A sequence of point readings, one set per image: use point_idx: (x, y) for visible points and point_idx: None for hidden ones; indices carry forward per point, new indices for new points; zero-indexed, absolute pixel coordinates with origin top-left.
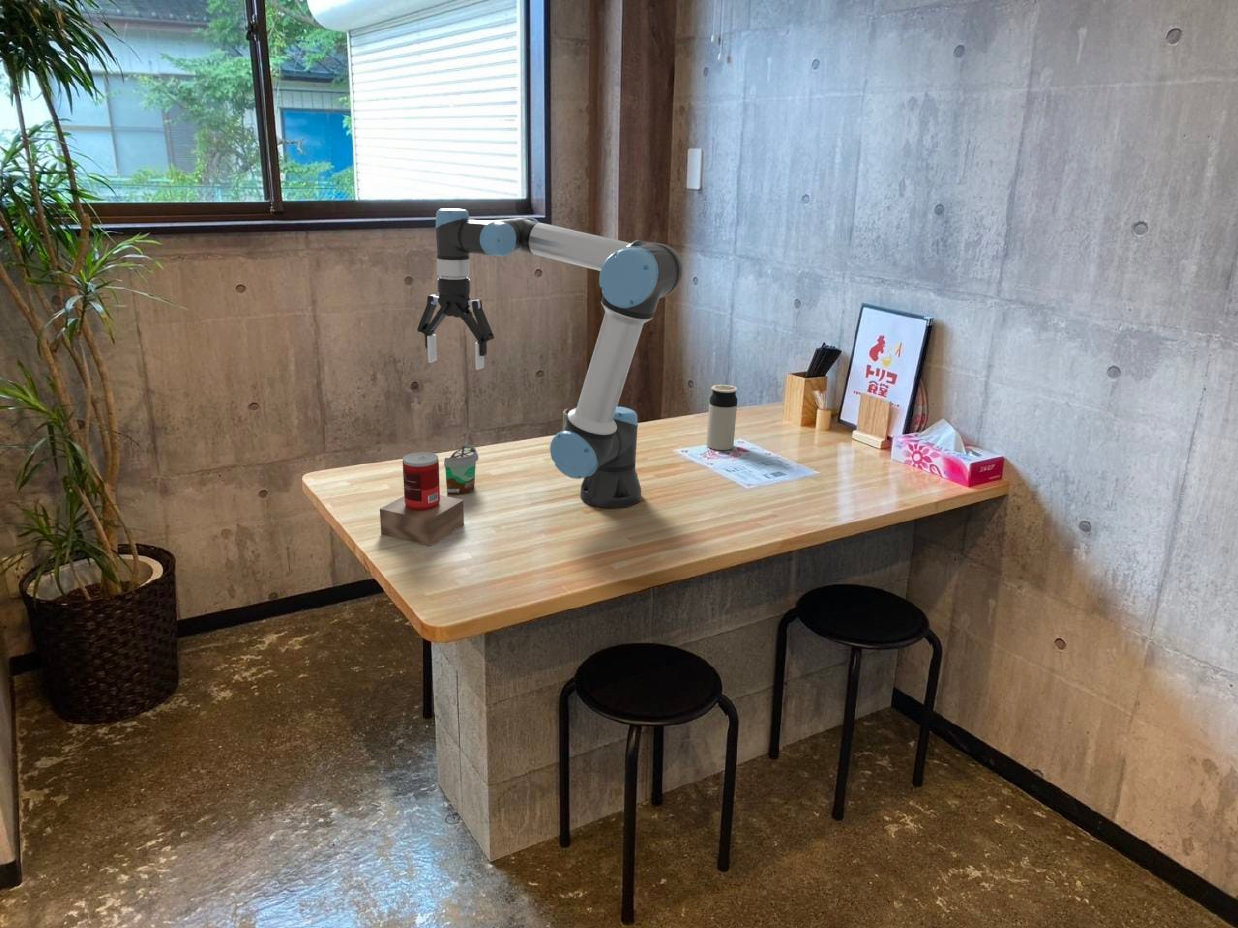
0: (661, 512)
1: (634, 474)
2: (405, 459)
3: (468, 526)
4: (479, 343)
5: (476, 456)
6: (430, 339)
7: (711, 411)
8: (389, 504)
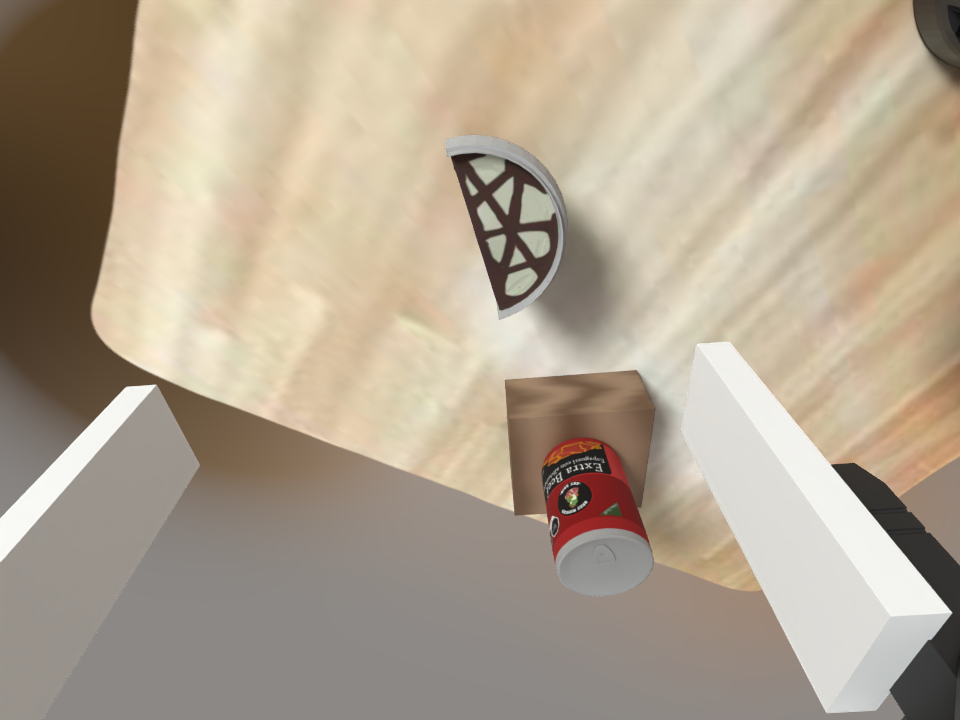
0: None
1: None
2: (575, 585)
3: (651, 372)
4: (887, 676)
5: (563, 208)
6: (46, 698)
7: None
8: (516, 495)
